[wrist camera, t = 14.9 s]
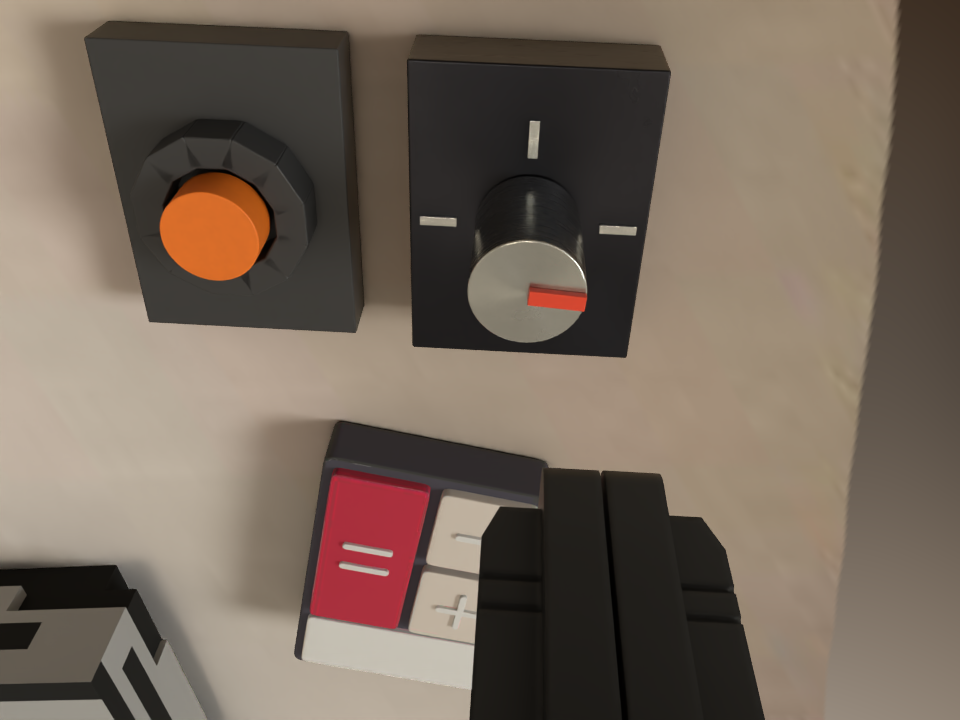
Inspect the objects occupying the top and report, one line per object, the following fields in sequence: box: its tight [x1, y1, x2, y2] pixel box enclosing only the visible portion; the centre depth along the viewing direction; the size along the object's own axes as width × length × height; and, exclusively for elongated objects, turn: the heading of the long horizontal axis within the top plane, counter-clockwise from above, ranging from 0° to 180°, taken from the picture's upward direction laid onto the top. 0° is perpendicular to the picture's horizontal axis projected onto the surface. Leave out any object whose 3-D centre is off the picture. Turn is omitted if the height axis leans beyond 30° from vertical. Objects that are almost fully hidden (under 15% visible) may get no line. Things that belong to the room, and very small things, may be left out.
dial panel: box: [407, 35, 671, 358], centre depth 35 cm, size 12×9×3 cm
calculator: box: [294, 422, 549, 690], centre depth 47 cm, size 11×4×15 cm
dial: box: [467, 176, 587, 343], centre depth 31 cm, size 4×4×5 cm
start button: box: [160, 172, 270, 281], centre depth 32 cm, size 4×4×2 cm
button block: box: [84, 21, 364, 333], centre depth 34 cm, size 12×9×4 cm
